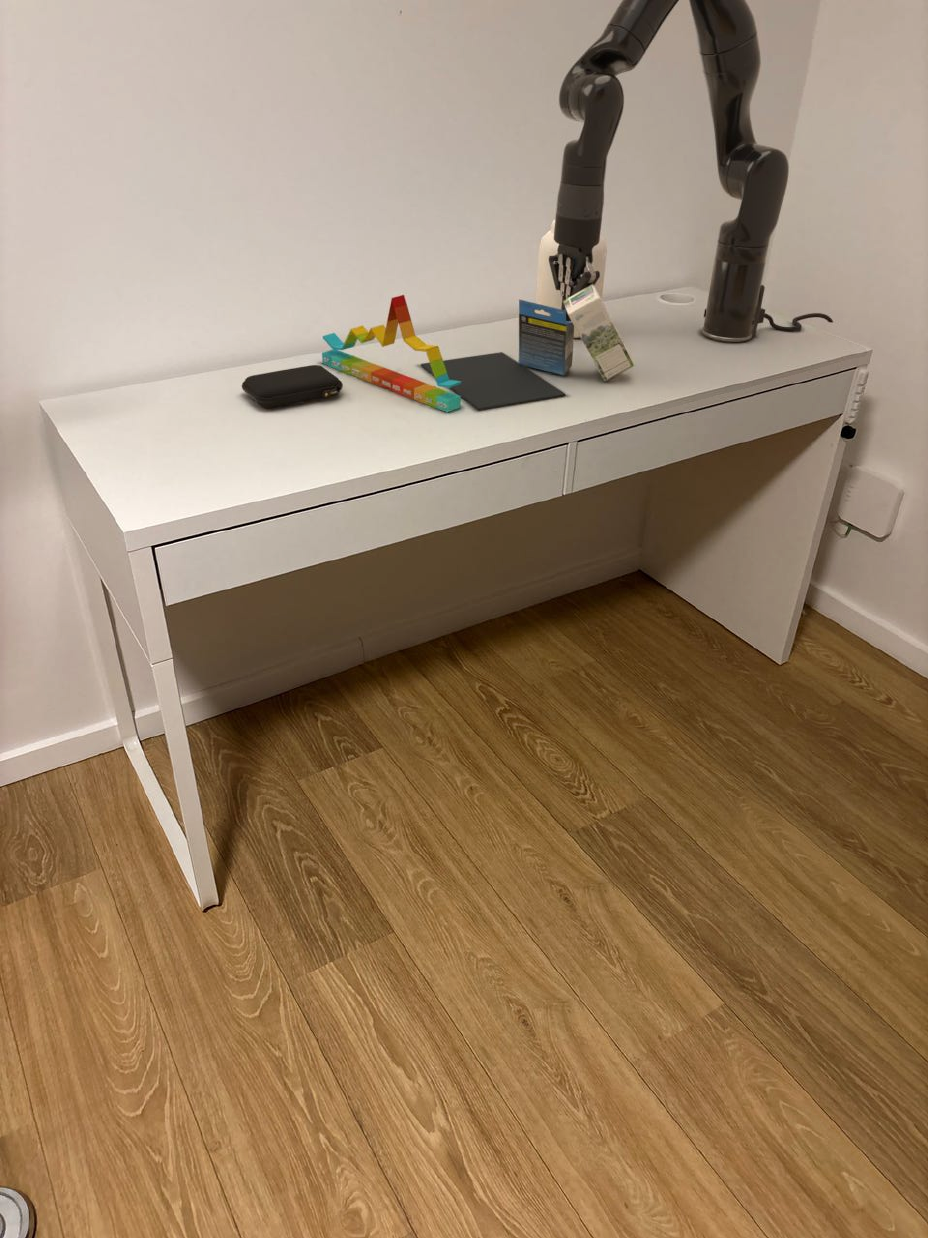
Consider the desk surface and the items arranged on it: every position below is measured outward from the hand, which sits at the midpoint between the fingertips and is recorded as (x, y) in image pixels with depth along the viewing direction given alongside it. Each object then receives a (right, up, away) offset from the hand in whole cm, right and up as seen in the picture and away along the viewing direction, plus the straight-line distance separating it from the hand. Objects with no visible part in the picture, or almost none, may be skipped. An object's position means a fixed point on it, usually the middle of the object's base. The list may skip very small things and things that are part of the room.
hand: (568, 319), depth 166 cm
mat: (-13, -11, -2) cm, 17 cm away
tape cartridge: (-4, -7, +3) cm, 9 cm away
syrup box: (+8, -9, -1) cm, 12 cm away
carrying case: (-45, -16, -10) cm, 49 cm away
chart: (-31, -13, -5) cm, 33 cm away
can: (+2, +5, +22) cm, 22 cm away
